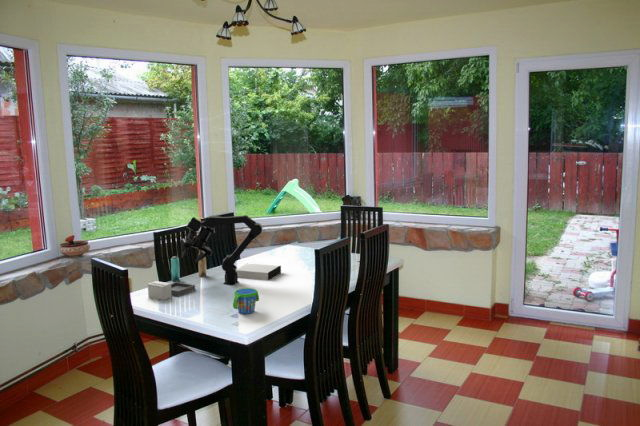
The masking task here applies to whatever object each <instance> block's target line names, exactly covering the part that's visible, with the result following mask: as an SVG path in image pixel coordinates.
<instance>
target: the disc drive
mask: <svg viewBox="0 0 640 426" xmlns="http://www.w3.org/2000/svg"><path fill="white" fill-rule="evenodd" d="M236 272H237V278H243V279H252V280H262V281H263V280H264V281H270V280H272V279H273V278H275V277H277V276H279V275H280V274H281V273H282V266H281V265H271V264H270V265H269V264H258V263H249V262H248V263H245V264H244V265H241V266H240V267H237V269H236Z"/></svg>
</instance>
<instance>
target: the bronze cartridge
mask: <svg viewBox="0 0 640 426" xmlns="http://www.w3.org/2000/svg"><path fill="white" fill-rule="evenodd" d="M199 254H200V252H199V253H198V255H199ZM198 255H197V256H198ZM197 263H198V264H197V265H198V278H199V277H200V278H205V277H207V256H206V257H205V258H203V259H201V260H200V261H198V262H197Z"/></svg>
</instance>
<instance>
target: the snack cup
mask: <svg viewBox="0 0 640 426" xmlns="http://www.w3.org/2000/svg"><path fill="white" fill-rule="evenodd" d="M233 294H234V297H233V303H232V308H233V310H237V311H238V313H239V314H241V315H249V314H252V313H254V312H255V310H256V309H255V308H256V302H259V301H260V297H259V292H258V290H257V289H255V288H252V287H251V288H250V287H245V288H238V289H235V290H234V292H233Z"/></svg>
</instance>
